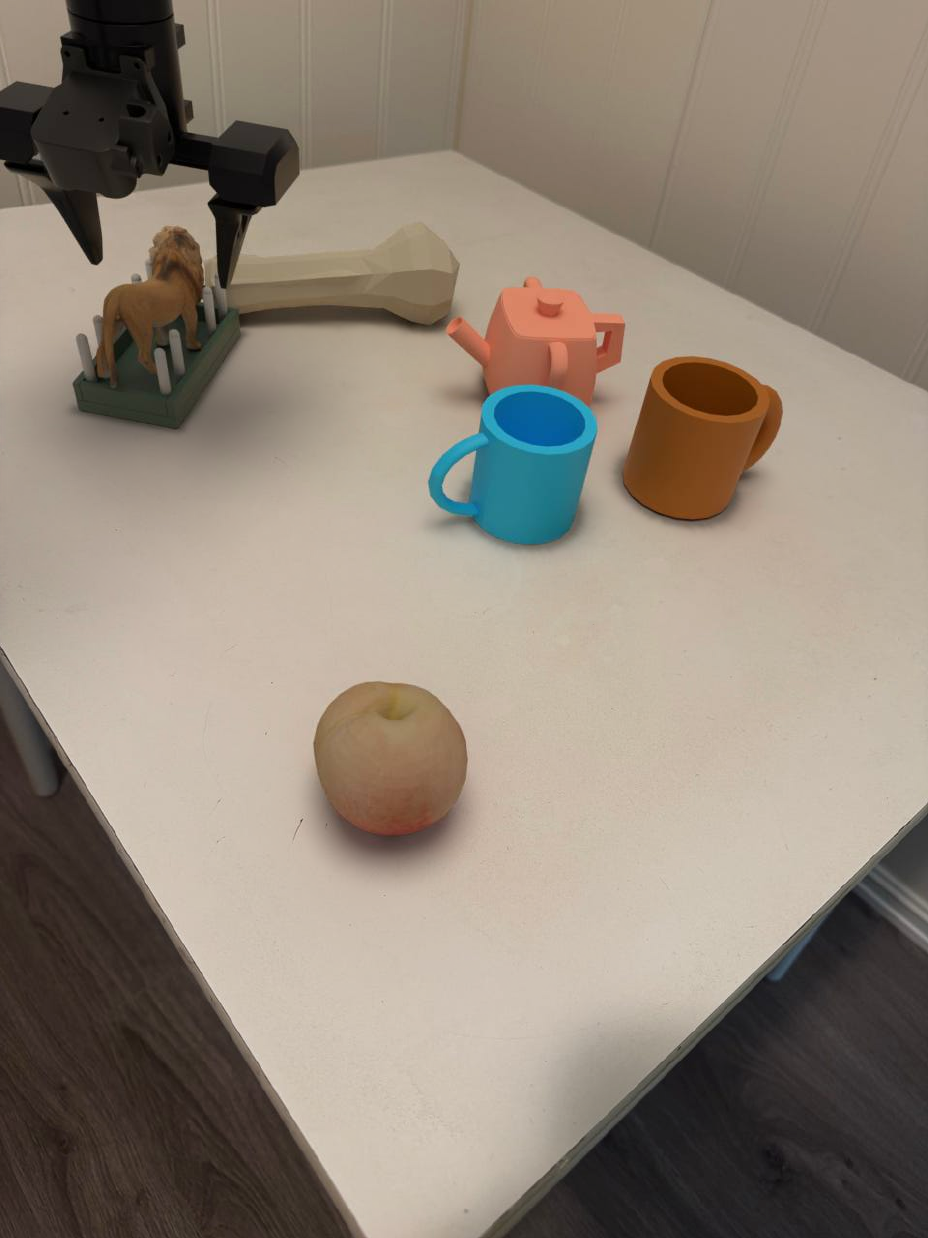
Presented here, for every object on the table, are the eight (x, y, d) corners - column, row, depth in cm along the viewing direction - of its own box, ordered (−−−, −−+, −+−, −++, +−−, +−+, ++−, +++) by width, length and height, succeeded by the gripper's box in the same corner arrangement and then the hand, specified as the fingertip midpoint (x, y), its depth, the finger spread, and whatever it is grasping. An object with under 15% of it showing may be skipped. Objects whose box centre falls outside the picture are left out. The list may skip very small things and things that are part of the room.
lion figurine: (162, 322, 78) (152, 215, 73) (220, 332, 78) (214, 225, 72) (82, 389, 67) (62, 267, 61) (150, 401, 66) (137, 280, 61)
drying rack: (78, 410, 69) (60, 339, 65) (154, 318, 79) (143, 251, 75) (177, 428, 69) (166, 358, 64) (240, 334, 79) (234, 267, 74)
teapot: (434, 397, 76) (443, 291, 68) (519, 349, 82) (536, 247, 75) (540, 460, 71) (562, 353, 64) (621, 403, 78) (649, 301, 71)
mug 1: (545, 466, 71) (564, 377, 65) (593, 532, 66) (619, 443, 60) (405, 492, 67) (411, 400, 61) (445, 564, 62) (457, 473, 56)
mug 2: (783, 520, 69) (830, 425, 63) (637, 521, 67) (670, 423, 61) (745, 450, 75) (784, 356, 68) (610, 449, 73) (637, 352, 67)
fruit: (451, 734, 52) (466, 648, 46) (464, 859, 47) (482, 779, 41) (315, 737, 51) (312, 648, 45) (313, 865, 46) (309, 783, 40)
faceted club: (469, 331, 81) (191, 348, 77) (451, 309, 88) (194, 323, 84) (470, 228, 77) (173, 239, 72) (450, 213, 84) (178, 223, 79)
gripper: (-127, 18, 44) (-31, 305, 56) (233, 81, 44) (254, 359, 55) (-10, -31, 52) (53, 232, 63) (298, 23, 51) (305, 278, 63)
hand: (161, 274), depth 61 cm, fingers open, 9 cm apart
